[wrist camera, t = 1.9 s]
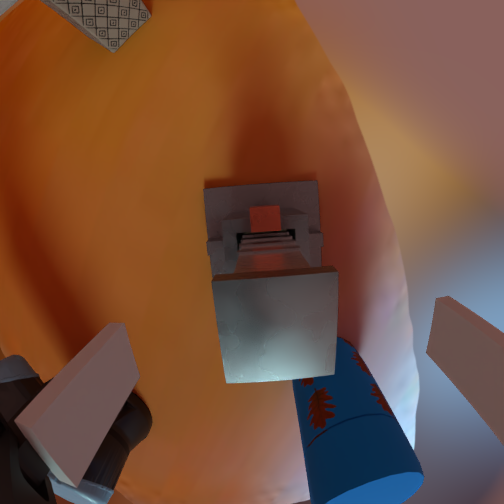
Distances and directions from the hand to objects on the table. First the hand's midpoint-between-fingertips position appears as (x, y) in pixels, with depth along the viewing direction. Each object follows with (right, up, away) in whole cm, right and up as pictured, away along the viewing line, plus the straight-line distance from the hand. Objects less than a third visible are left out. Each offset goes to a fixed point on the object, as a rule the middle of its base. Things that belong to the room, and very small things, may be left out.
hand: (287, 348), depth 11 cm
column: (0, +5, +24) cm, 24 cm away
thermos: (+10, -14, +30) cm, 34 cm away
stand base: (0, +5, +26) cm, 26 cm away
